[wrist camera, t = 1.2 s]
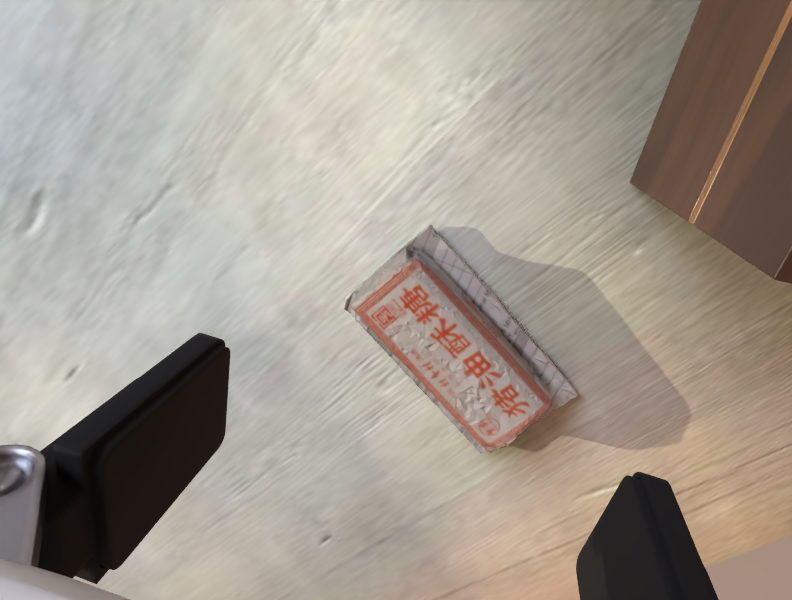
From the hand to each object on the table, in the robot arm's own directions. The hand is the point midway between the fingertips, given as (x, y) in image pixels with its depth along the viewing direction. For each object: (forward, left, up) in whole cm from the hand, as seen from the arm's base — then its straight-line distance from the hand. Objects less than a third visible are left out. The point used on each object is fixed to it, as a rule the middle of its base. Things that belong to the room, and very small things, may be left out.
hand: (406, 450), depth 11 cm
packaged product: (+11, +1, -26) cm, 28 cm away
